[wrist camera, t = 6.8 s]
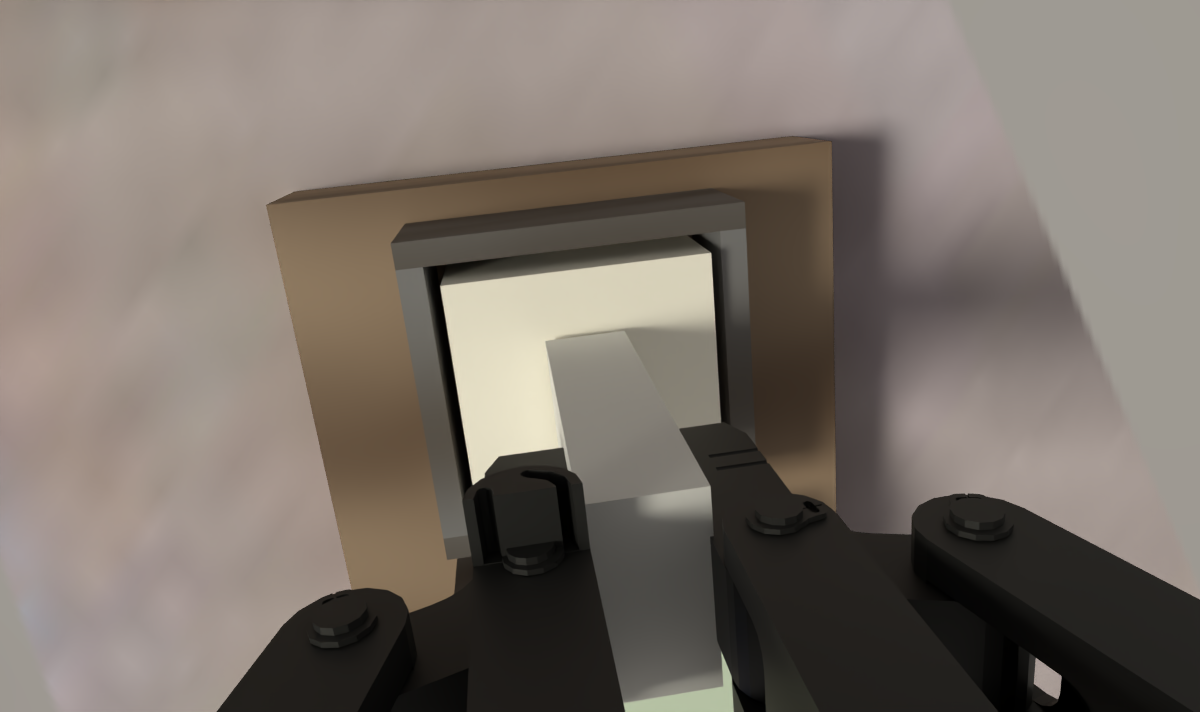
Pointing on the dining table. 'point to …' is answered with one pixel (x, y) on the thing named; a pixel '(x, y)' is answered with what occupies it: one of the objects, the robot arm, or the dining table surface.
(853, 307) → the dining table surface
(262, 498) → the dining table surface
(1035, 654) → the robot arm
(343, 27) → the dining table surface
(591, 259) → the cream button
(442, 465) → the button panel
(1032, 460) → the dining table surface
